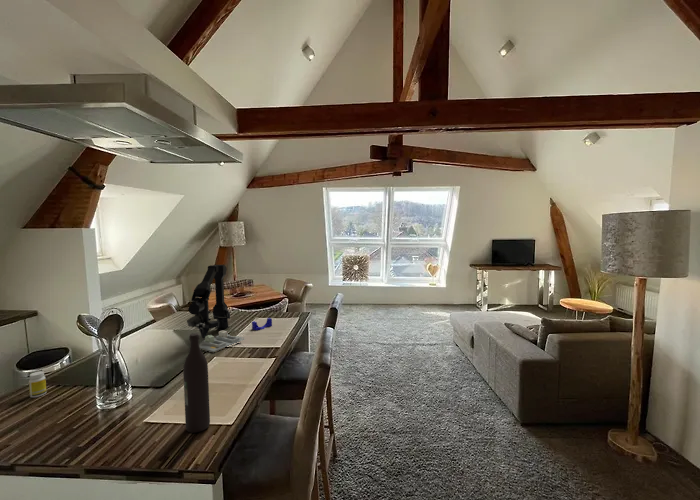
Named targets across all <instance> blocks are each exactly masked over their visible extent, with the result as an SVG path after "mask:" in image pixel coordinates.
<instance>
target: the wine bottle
mask: <svg viewBox="0 0 700 500" xmlns="http://www.w3.org/2000/svg"><path fill="white" fill-rule="evenodd" d="M188 338H189V343H190V344H189V345H190V347H189V352H188V354H187V356H186V357H185V360H184V363H183V368H182V369H183V370H182V372H183V373H182V374H183V392H184V393H183V396H184V417H185V418H184V419H185V429H186V430H185V431H187V432H188V433H195V434H196V433H199V432H200V433H201V432H202V431H204V430H206V429H208V428H209V426H210V424H211V415H210V414H211V413H210V412H211V411H210V410H211V409H210V388H209V387H210V385H209V365H208V361H207V358H206V356H205V354H204V353H203V350H200V346H199V344H200V338H201V337H200V334H199V333H198V332H195V333H190V334H189V337H188Z"/></svg>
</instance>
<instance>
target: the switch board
mask: <svg viewBox="0 0 700 500" xmlns="http://www.w3.org/2000/svg"><path fill="white" fill-rule="evenodd" d="M227 336H228V338H224V337H220V336H219V335H216V336H215V337H214V343H210V342H206V341H205V339H204V340H202V341H201V342H199V346H200V349H204V350H206V351H205V352H207V351H209V352H208V353H210V352H215V351H218V350H220V349H222V348H225V347H227V346H229V345H232V344H234V343H237V342H241V341H245V339H244V338H245V337H242V336H237V335H236V336H234V335H230V333H229V334H228V333H227ZM242 338H243V339H242Z"/></svg>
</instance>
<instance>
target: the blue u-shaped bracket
mask: <svg viewBox="0 0 700 500" xmlns="http://www.w3.org/2000/svg"><path fill="white" fill-rule="evenodd" d="M270 327H273V319H272V318H271V317H267V319H266V322H265V324H264V325H262V326H258V322H257V321H255V320H254V321H251V329H252V330H254V331H255V330H256V331H261V330H264V329H266V328H270ZM256 331H255V332H256Z"/></svg>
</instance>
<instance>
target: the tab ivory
mask: <svg viewBox="0 0 700 500" xmlns="http://www.w3.org/2000/svg"><path fill="white" fill-rule="evenodd" d="M227 334H228V331H226V329H223V330H219V331H218V336H220V337H224V338H228V336H227Z"/></svg>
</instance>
